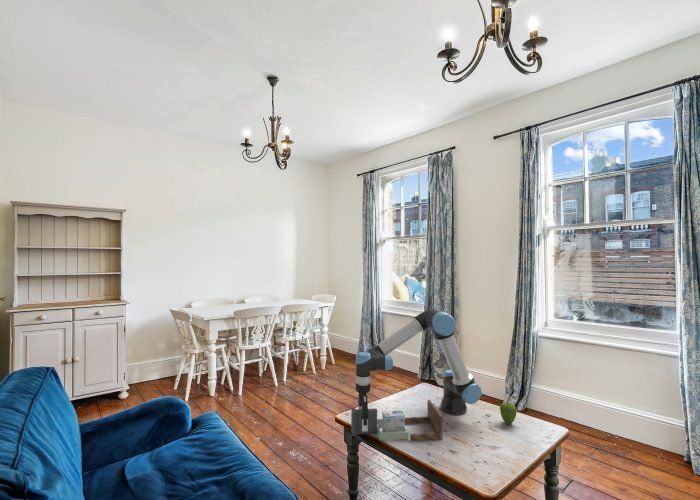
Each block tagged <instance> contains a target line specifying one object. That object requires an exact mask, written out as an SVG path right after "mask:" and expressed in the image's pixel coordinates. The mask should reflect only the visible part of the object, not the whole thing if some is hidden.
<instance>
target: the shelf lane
mask: <svg viewBox="0 0 700 500" xmlns="http://www.w3.org/2000/svg"><path fill="white" fill-rule="evenodd" d="M438 409H439V408H437V407H436V405H434V403H433V402H432V401H431V400H430V399H427V416H408V417H407V416H405V425H408V424H409V425H410V424H429V426H430V427H431V429H432V430H433V431H434V432H419V433H418V432H415V433H410V434H409V437H410V438H409V439H410V442H416V441H417V442H419V441H433V440H435V441H436V440H439V441H440V440H443V430H444V429H443V423H444V422H443V417H444V416H443V414H442V413H441V412H440V411H439V410H438Z"/></svg>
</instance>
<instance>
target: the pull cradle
mask: <svg viewBox="0 0 700 500" xmlns="http://www.w3.org/2000/svg"><path fill="white" fill-rule="evenodd" d="M350 412H351V417H350V418H351V420H350V421H351V423H350V424H351V425H350V426H351V436H352V437H356V436H357V435H372V434H376V435H377V437H378V439H379V441H393V440H394V441H395V440H397V441H398V440H409V431H408V428H407V427H406V426H405V431H401V432H383V431H381V429H380V427H383V425H382V418H378V409H377V408H368V417H369V419H368V431H364V432H362V419H361V417H363V416H362V409H358V408H357V409H356V408H355V407H352V408H351V411H350Z"/></svg>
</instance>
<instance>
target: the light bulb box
mask: <svg viewBox="0 0 700 500" xmlns="http://www.w3.org/2000/svg"><path fill="white" fill-rule="evenodd" d="M381 413H382V418H381V419H382V425H383V426H382V432H401V431H405V427H406V424H405V417H406V415H405V414H404V412H403V410H402V409H395V410H382V412H381Z"/></svg>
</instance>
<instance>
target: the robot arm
mask: <svg viewBox="0 0 700 500" xmlns="http://www.w3.org/2000/svg"><path fill="white" fill-rule="evenodd" d="M455 328H456V321H455V319H454V317H453V316H452V315H451V314H449V313H448V312H445V311H440V310H437V309H435V308H430V309H426V310H424V311H423V312H421V313H419V314H417V315H416V316H414V317H413V318H412V320H411V321H410V322H409V323H407V324H406V325H404V326H403V327H401V328H400V329H398V330H397V331H396V332H394V333H392V334H391V335H390V336H388V337H387V338H386V339H384V340H382V341H380V342H379V343H378V344H377V345H375V346H373V347H368V348H366V349H365V351H360V352H357V353H356V356H355V377H354V379H355V391H356V392H357V393H358V396H357V398H358V399H357V403H358V408H357V409H362V416H363V417H361V419H362V432H364V431H368V419H369V417H368V409H369V408H368V407H369V405H368V404H369V403H368V400H369V399H368V395H367V394H368V393H370V392H371V372H379V371H380V372H381V371H389V370H392V369H393V367H394V360H393V359H394V358H393V357H392V356H391V354H390V353H392V352H393V351H395V350H396V349H398V348H400V347H401V346H402V345H403V344H405V343H406V342H408V341H410V340H411V339H412V338H414V337H415V336H416V335H418V334H419V333H422V334H423V333H424V332H426V331H428V330H430V331H431V332H432V335H433V337H434V339H435V340H436V341H438V342H439V345H440V347H441V350H442V353H443V354H444V357H445V360H446V362H447V364H448V367H449V369H446V370H445V371H443V378H442V379H443V380H442V381H443V395H442V398H441V401H440V404H439V405H440V407H439V408H440V410H441V411H442V412H444V413H445V414H449V415H452V416H460V415H465V414H466V413H467V412H468V411H467V410H468V409H467V408H468V406H467V404H468V405H474V404H476V403H477V402H478V401H480V399H481V397H482V393H483V392H482V391H483V390H482V387H481V386H480V385H479V384H478V383H476V381H475V379H474V376H473V374H472V373H470V372H469V371H468V369H467V366H466V364H465V360H464V359H463V356H462V353H461V351H460V348H459V345H458V344H457V341H456V338H455V334H456V329H455Z"/></svg>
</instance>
